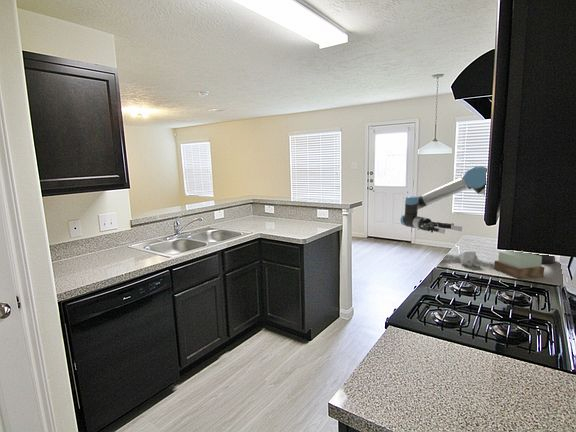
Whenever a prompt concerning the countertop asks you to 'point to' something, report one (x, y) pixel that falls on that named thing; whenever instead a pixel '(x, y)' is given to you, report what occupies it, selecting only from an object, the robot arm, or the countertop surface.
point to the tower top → (520, 259)
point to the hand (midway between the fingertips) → (453, 230)
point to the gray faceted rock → (468, 258)
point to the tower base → (519, 271)
